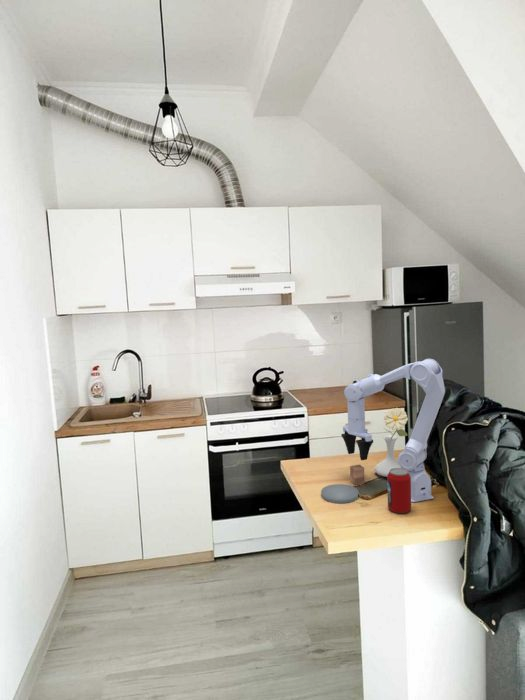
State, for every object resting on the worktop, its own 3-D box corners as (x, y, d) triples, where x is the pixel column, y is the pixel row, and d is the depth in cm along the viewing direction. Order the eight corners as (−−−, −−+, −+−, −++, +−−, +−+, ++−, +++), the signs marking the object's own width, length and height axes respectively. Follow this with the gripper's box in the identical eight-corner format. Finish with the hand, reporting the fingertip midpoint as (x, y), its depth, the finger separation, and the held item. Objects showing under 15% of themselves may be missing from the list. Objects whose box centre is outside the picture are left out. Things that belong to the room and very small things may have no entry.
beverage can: (393, 503, 148) (392, 465, 147) (414, 508, 144) (414, 469, 143) (384, 511, 143) (383, 472, 142) (405, 516, 139) (405, 476, 137)
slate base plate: (365, 499, 151) (365, 495, 151) (330, 506, 148) (330, 501, 148) (348, 486, 163) (348, 482, 163) (315, 491, 159) (315, 487, 159)
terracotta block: (364, 484, 164) (364, 467, 163) (355, 486, 163) (354, 469, 162) (359, 481, 167) (359, 464, 166) (350, 482, 166) (349, 465, 165)
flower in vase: (367, 474, 172) (366, 406, 170) (387, 466, 179) (386, 401, 177) (398, 484, 162) (397, 412, 160) (417, 476, 169) (417, 407, 167)
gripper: (379, 420, 158) (379, 460, 159) (354, 412, 171) (355, 449, 173) (361, 423, 155) (362, 464, 157) (337, 414, 168) (338, 452, 170)
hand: (357, 456), depth 164 cm, fingers open, 7 cm apart
